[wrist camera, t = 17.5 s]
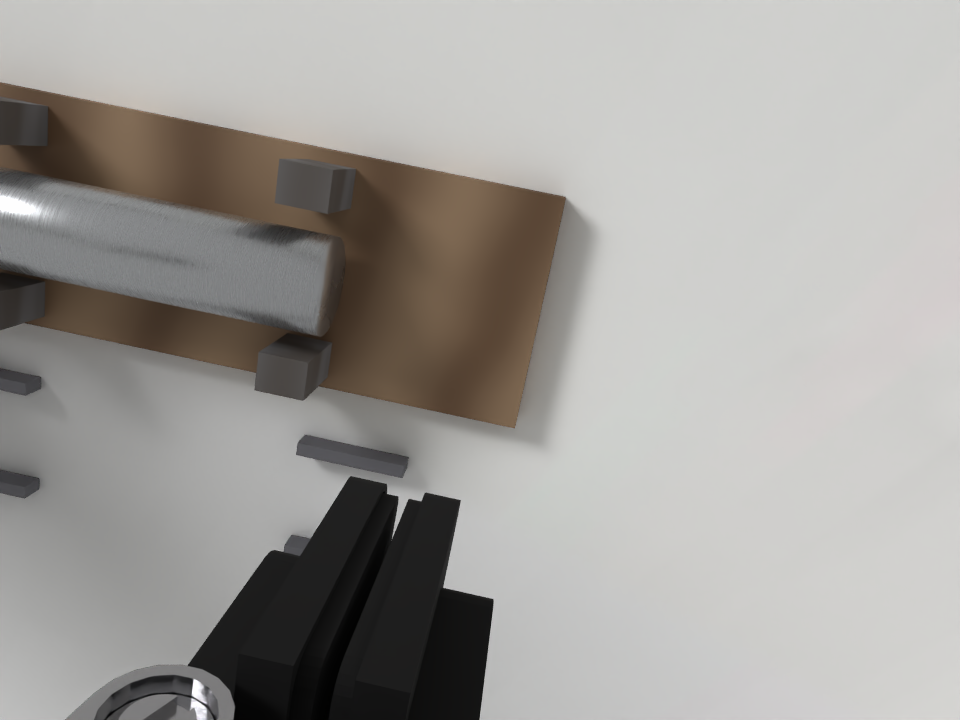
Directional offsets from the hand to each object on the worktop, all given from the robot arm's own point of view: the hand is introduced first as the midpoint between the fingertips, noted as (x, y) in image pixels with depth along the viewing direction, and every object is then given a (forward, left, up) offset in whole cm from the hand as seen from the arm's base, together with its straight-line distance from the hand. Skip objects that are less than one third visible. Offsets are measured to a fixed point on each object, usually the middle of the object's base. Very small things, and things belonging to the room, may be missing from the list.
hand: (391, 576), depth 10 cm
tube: (-18, 0, -20) cm, 27 cm away
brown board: (-14, 0, -21) cm, 25 cm away
